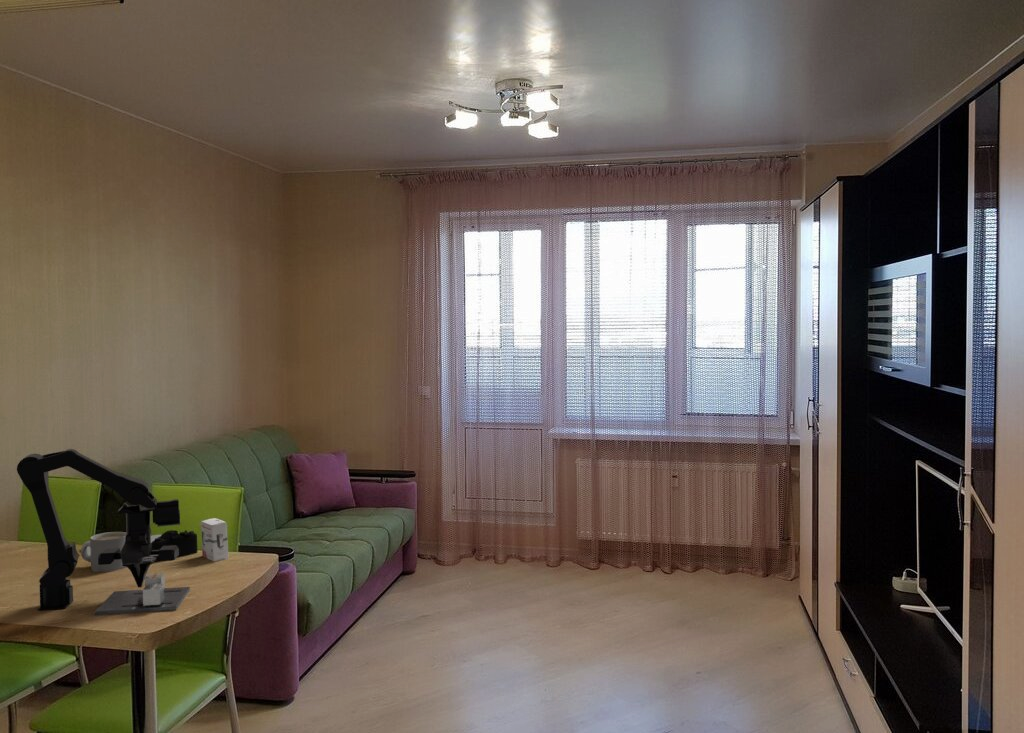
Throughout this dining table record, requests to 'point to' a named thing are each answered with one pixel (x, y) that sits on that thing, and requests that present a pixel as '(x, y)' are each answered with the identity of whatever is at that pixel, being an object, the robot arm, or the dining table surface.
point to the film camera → (177, 542)
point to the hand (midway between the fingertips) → (140, 587)
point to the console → (141, 602)
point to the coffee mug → (99, 545)
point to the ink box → (214, 539)
